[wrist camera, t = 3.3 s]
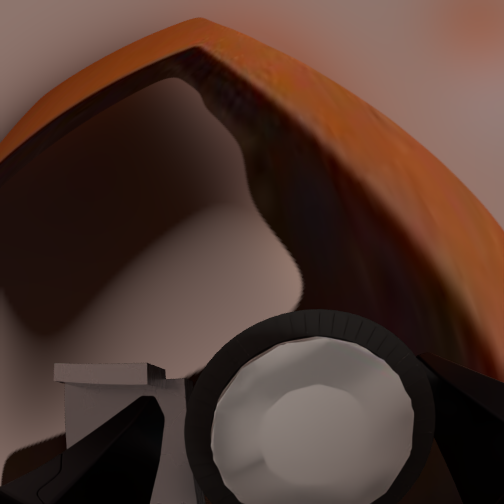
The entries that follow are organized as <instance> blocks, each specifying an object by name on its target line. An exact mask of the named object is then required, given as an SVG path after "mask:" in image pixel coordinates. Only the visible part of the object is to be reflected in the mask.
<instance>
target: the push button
mask: <svg viewBox="0 0 504 504" xmlns="http://www.w3.org/2000/svg"><path fill="white" fill-rule="evenodd" d="M434 431H435V404H434V399H433V393H432V390H431V387H430V383H429V380H428V378H427V376H426V374H425V371H424V369H423V368H422V366H421V364H420V363H419V361H418V359H417V358H416V357H415V355H414V354H413V353H412V351H411V350H410V349H409V348H408V347H407V346H406V345H405V344H404V343H403V342H402V341H401V340H400V339H399V338H398V337H396V336H395V335H394V334H393V333H391V332H390V331H388V330H387V329H385V328H384V327H382V326H381V325H379V324H377V323H375V322H373V321H371V320H368V319H366V318H363V317H361V316H358V315H354V314H350V313H347V312H341V311H335V310H322V309H319V310H302V311H294V312H290V313H285V314H281V315H278V316H275V317H272V318H269V319H266V320H264V321H262V322H259V323H257V324H255V325H253V326H251V327H249V328H248V329H246V330H244V331H243V332H242V333H240V334H238V335H237V336H236V337H234V338H233V339H232V340H230V341H229V342H228V343H227V344H225V345H224V346H223V347H222V348H221V349H220V350H219V351H218V352H217V353H216V354H215V355H214V357H213V358H212V359H211V360H210V361H209V363H208V364H207V365H206V367H205V368H204V370H203V371H202V373H201V374H200V376H199V378H198V380H197V382H196V384H195V386H194V388H193V391H192V393H191V396H190V399H189V402H188V406H187V410H186V416H185V424H184V440H185V449H186V454H187V458H188V462H189V465H190V468H191V471H192V473H193V475H194V477H195V480H196V481H197V483H198V485H199V486H200V488H201V490H202V491H203V493H204V494H205V495H206V497H207V498H208V499H209V500H210V501H211V503H212V504H397V503H398V502H399V501H400V500H401V499H402V498H403V497H404V496H405V495H406V493H407V492H408V491H409V490H410V489H411V487H412V486H413V484H414V483H415V481H416V480H417V478H418V477H419V475H420V473H421V471H422V470H423V468H424V466H425V463H426V461H427V458H428V456H429V453H430V450H431V446H432V443H433V437H434Z"/></svg>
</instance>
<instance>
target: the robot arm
mask: <svg viewBox="0 0 504 504" xmlns="http://www.w3.org/2000/svg"><path fill="white" fill-rule="evenodd" d="M416 358H417V359H418V361H419V363H420V364H421V366H422V368H423V369H424V371H425V374H426V376H427V378H428V380H429V383H430V387H431V390H432V393H433V399H434V404H435V431H434V438H435V440H436V442H437V444H438V446H439V449H440V451H441V453H442V455H443V457H444V459H445V462H446V464H447V466H448V468H449V471H450V473H451V475H452V477H453V480H454V482H455V484H456V487H457V489H458V492H459V494H460V496H461V499H462V501H463V504H504V383H503V382H500V381H498V380H495V379H493V378H490V377H488V376H485V375H483V374H480V373H478V372H475V371H473V370H471V369H468V368H466V367H463V366H461V365H458V364H456V363H453V362H451V361H449V360H446V359H444V358H441V357H439V356H437V355H434V354H432V353H429V352H426V353H423V354H420V355H417V356H416ZM164 424H165V416H164V413H163V411H162V409H161V407H160V405H159V403H158V401H157V399H156V398H155V397H154V396H140V397H139V398H138V399H136V400H135V401H134V402H132V403H131V404H130V405H128V406H127V407H126V408H124V409H123V410H121V411H120V412H119V413H117V414H116V415H115V416H113V417H112V418H111V419H109V420H108V421H106V422H105V423H104V424H102V425H101V426H99V427H98V428H97V429H95V430H94V431H92V432H91V433H90V434H88V435H87V436H85V437H84V438H82V439H81V440H80V441H78V442H77V443H75V444H74V445H72V446H71V447H69V448H68V449H67V450H65V451H64V452H63V454H62V453H61V454H59V455H58V456H56V457H55V458H53V459H52V460H50V461H49V462H47V463H45V464H44V465H42V466H40V467H39V468H37V469H35V470H33V471H31V472H30V473H28V474H26V475H24V476H22V477H20V478H18V479H16V480H14V481H12V482H10V483H8V484H6V485H3V486H1V487H0V504H150V501H151V497H152V492H153V488H154V484H155V480H156V476H157V471H158V467H159V463H160V457H161V449H162V440H163V432H164Z"/></svg>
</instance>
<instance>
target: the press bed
mask: <svg viewBox="0 0 504 504" xmlns="http://www.w3.org/2000/svg"><path fill="white" fill-rule="evenodd" d="M54 381H56V382H60V383H64V384H65V425H66V443H67V449H68V448H69V447H71V446H72V445H74V444H75V443H77V442H78V441H80V440H81V439H82V438H84V437H85V436H87V435H88V434H90V433H91V432H92V431H94V430H95V429H97V428H98V427H99V426H101V425H102V424H104V423H105V422H106V421H108V420H109V419H111V418H112V417H113V416H115V415H116V414H117V413H119V412H120V411H121V410H123V409H124V408H126V407H127V406H128V405H130V404H131V403H132V402H134V401H135V400H136V399H138V398H139V397H140V396H154V397H155V398H156V399H157V401H158V403H159V405H160V407H161V409H162V411H163V413H164V416H165V424H164V432H163V440H162V449H161V457H160V463H159V467H158V471H157V476H156V480H155V484H154V488H153V492H152V497H151V501H150V504H205V498H204V493H203V491H202V490H201V488H200V486H199V485H198V483H197V481H196V480H195V477H194V475H193V473H192V471H191V468H190V465H189V462H188V458H187V454H186V449H185V440H184V424H185V416H186V410H187V406H188V402H189V399H190V396H191V393H192V391H193V382H192V381H191V380H188V379H184V378H182V379H166V376H165V369H162V368H159V367H157V366H154V365H151V364H149V363H128V364H68V363H55V364H54Z"/></svg>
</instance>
